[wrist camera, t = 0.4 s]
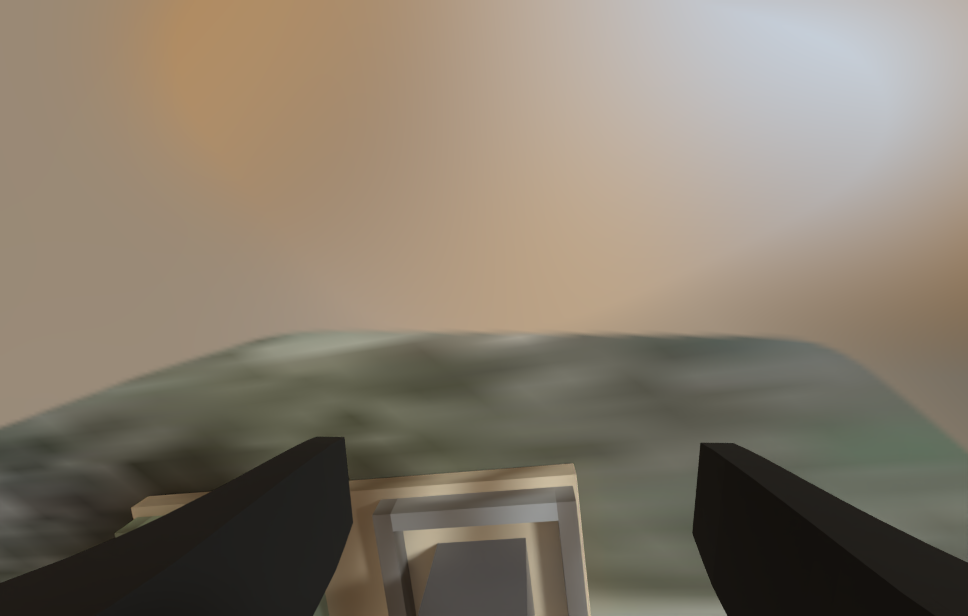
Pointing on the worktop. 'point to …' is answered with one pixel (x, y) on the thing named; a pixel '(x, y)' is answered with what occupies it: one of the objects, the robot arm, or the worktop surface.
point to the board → (444, 535)
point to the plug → (479, 580)
